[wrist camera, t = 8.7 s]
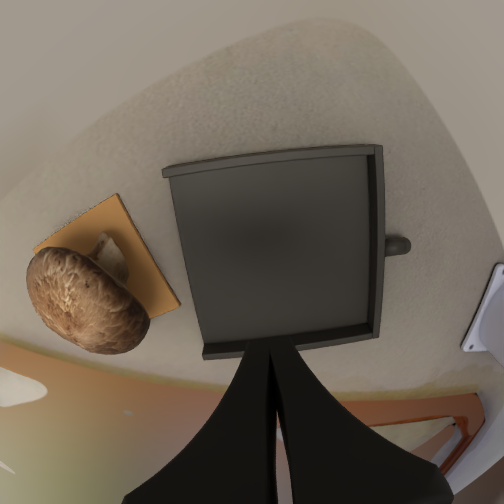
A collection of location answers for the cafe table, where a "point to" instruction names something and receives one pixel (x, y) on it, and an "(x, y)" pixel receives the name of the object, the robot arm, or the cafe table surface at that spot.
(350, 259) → the pan
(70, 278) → the mushroom
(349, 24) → the cafe table surface
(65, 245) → the mat
